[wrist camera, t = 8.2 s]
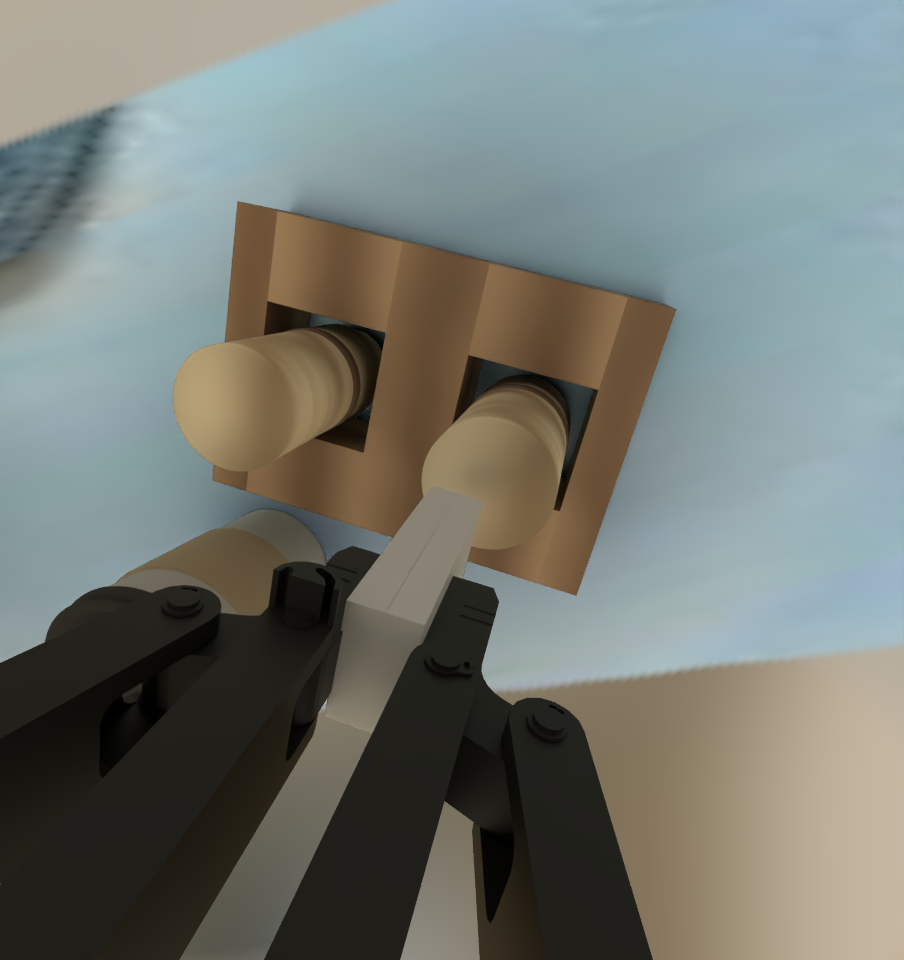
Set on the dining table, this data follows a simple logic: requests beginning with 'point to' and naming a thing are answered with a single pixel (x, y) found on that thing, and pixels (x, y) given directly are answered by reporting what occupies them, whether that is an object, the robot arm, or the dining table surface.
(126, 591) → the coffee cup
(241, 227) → the board
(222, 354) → the peg
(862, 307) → the dining table surface
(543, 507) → the peg
